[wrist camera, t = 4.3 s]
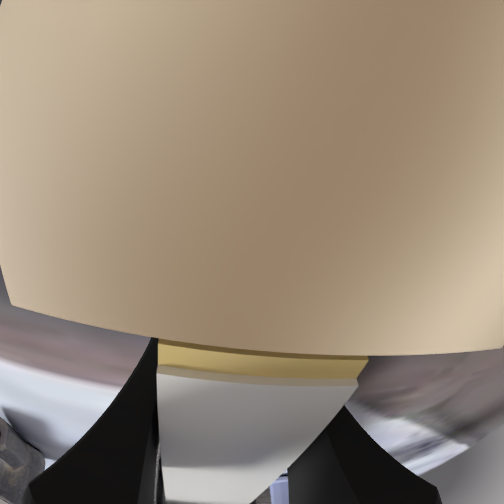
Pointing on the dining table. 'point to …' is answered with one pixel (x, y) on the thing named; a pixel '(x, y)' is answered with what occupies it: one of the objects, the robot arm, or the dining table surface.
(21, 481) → the pipe
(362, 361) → the long white bar
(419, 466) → the dining table surface
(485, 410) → the dining table surface
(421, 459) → the dining table surface
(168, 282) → the socket
